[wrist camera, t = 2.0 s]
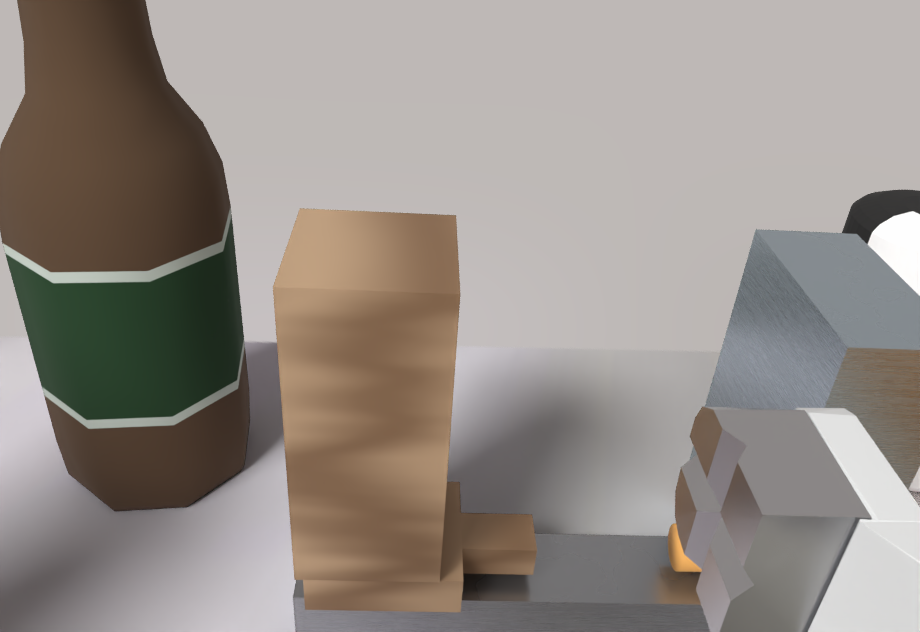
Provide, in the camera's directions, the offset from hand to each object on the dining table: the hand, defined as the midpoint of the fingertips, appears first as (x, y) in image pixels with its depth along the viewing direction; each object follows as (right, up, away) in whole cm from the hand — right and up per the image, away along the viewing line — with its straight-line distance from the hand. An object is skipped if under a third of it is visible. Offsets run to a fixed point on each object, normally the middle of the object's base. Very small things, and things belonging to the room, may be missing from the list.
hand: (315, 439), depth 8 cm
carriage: (0, -7, +19) cm, 20 cm away
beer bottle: (-11, -5, +26) cm, 29 cm away
